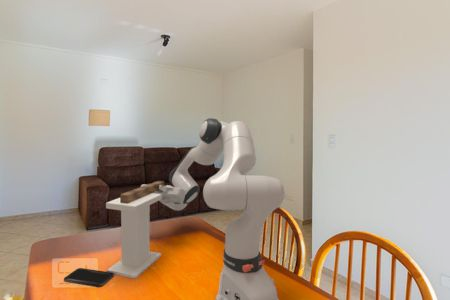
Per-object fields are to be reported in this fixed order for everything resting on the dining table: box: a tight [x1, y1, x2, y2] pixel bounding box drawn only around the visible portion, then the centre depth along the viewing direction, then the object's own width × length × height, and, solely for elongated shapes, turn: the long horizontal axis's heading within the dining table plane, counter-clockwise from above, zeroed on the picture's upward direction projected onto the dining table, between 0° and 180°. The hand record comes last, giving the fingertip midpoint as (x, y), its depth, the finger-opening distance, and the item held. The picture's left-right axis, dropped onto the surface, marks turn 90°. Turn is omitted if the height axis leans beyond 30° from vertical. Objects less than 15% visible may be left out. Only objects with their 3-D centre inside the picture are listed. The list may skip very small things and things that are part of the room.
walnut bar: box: [119, 180, 165, 204], centre depth 108 cm, size 26×3×3 cm, turn 163°
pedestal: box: [105, 193, 162, 280], centre depth 104 cm, size 18×12×26 cm, turn 163°
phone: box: [63, 267, 115, 288], centre depth 95 cm, size 8×1×15 cm
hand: (154, 186), depth 115 cm, fingers closed on walnut bar, 3 cm apart
